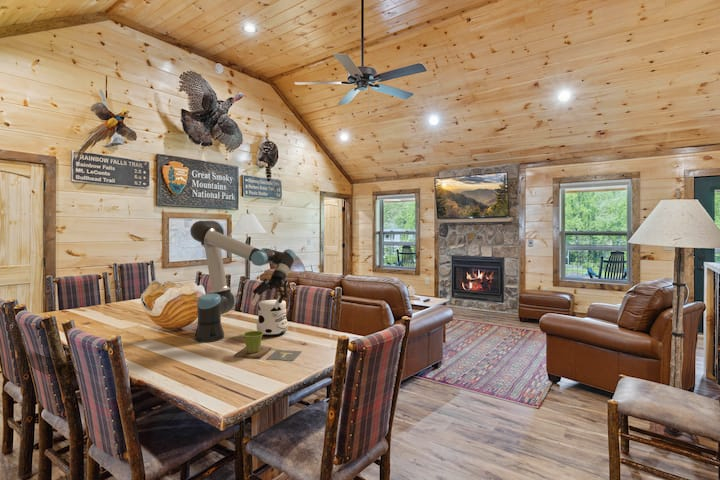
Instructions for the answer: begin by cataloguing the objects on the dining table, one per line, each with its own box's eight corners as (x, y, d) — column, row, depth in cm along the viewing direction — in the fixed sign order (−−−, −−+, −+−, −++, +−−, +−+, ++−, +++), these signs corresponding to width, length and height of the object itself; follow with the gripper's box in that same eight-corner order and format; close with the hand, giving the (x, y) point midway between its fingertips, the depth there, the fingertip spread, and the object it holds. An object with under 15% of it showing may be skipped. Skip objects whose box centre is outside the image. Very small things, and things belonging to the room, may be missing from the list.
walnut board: (233, 357, 178) (233, 355, 178) (246, 348, 191) (246, 346, 191) (260, 358, 176) (260, 356, 176) (271, 349, 189) (271, 347, 189)
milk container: (288, 336, 212) (288, 304, 211) (256, 338, 208) (256, 306, 207) (286, 328, 229) (286, 298, 228) (256, 330, 224) (256, 299, 224)
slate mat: (266, 359, 176) (266, 358, 176) (276, 350, 189) (276, 349, 189) (293, 360, 174) (293, 360, 174) (302, 351, 187) (302, 351, 187)
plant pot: (258, 355, 178) (258, 336, 178) (239, 353, 180) (239, 335, 180) (266, 348, 187) (266, 331, 187) (248, 347, 189) (248, 330, 189)
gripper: (302, 279, 206) (287, 313, 193) (263, 276, 215) (246, 308, 201) (298, 271, 201) (282, 304, 188) (258, 267, 210) (240, 299, 196)
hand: (263, 306), depth 194 cm, fingers open, 13 cm apart
